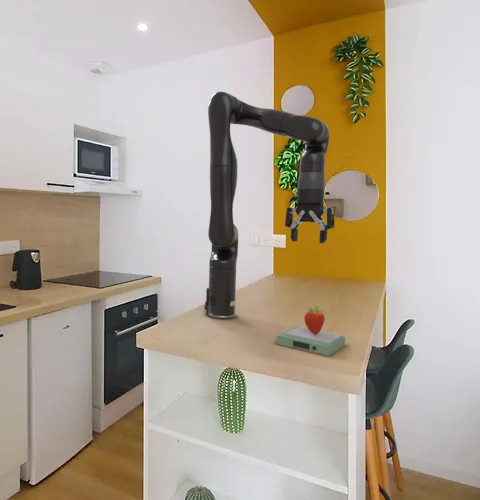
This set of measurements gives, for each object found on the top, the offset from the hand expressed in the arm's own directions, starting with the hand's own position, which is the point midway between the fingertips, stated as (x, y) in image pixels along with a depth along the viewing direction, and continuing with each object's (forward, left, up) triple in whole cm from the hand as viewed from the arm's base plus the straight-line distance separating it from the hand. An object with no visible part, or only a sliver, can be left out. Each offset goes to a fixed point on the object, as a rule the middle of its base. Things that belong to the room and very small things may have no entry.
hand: (307, 242), depth 126 cm
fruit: (+8, -12, -24) cm, 28 cm away
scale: (+7, -12, -27) cm, 31 cm away
